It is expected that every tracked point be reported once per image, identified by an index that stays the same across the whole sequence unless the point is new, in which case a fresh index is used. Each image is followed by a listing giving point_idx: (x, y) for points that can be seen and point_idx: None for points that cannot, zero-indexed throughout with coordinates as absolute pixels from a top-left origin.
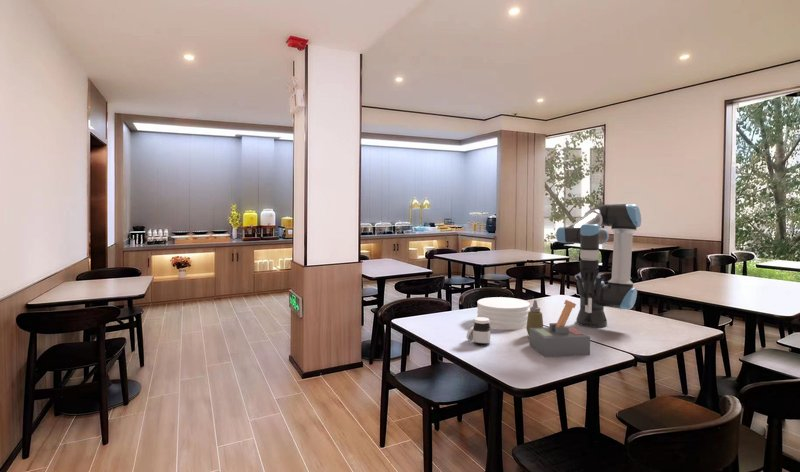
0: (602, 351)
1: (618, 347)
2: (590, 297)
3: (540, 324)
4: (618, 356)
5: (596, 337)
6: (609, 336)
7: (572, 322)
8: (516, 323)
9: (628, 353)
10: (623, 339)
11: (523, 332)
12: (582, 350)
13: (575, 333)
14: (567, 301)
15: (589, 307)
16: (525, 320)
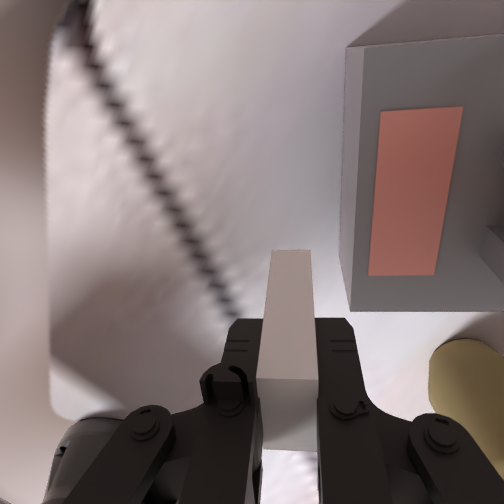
0: (235, 109)
1: (120, 169)
2: (259, 411)
3: (486, 391)
4: (182, 6)
5: (167, 316)
6: (103, 321)
7: None
8: None
9: (102, 62)
10: (54, 278)
11: None
12: (406, 42)
13: (443, 133)
14: None
15: (298, 284)
16: None
